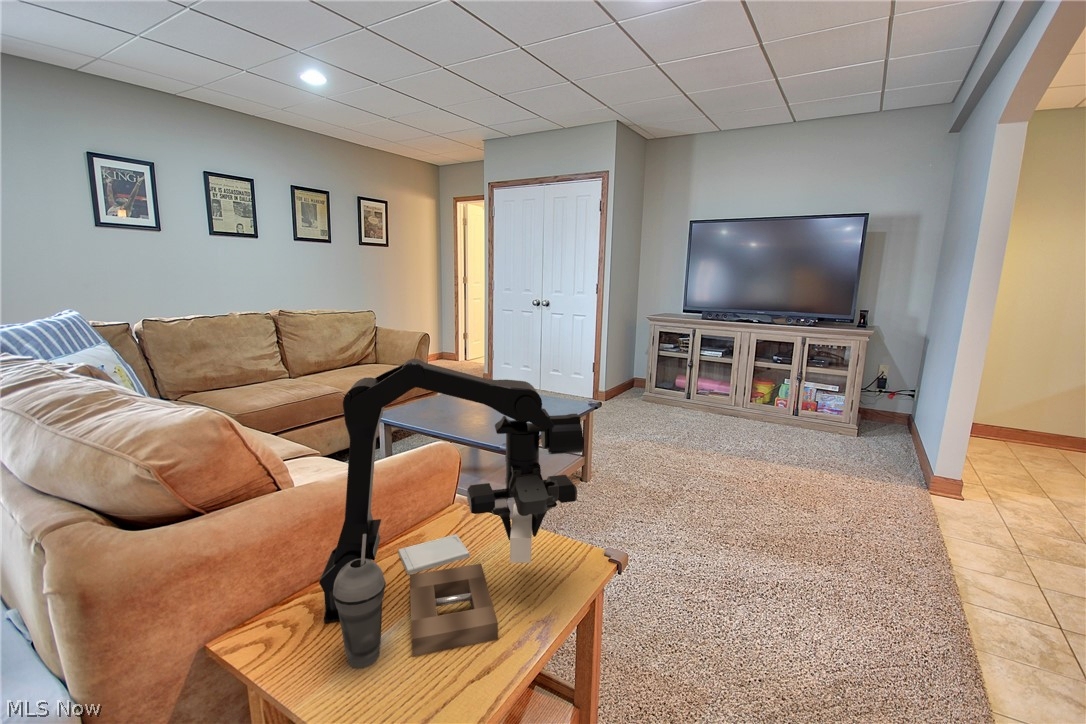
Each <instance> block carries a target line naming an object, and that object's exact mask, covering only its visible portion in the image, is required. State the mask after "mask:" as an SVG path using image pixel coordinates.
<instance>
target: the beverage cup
mask: <svg viewBox="0 0 1086 724" xmlns="http://www.w3.org/2000/svg"><path fill="white" fill-rule="evenodd" d="M365 548H366V534H363V540H362V553H361V558H360V559H355V560H353V561H350V562H349V563H347V564H346V565H345V566H344V567H343V568H342V569H341V570H340V571H339V573H338V575H337V577H336V579H335V582H334V589H333V598H334V600H335V605H336V608H337V609H338V613H339V619H340V620H339V625H340V630H341V635H342V641H343V647H344V652H345V656H346V658H347V659H346V660H347V664H348V666H349V667H351V668H352V669H357V670H358V669H359V670H361V669H365V668H368V667H370V666H372V665H373V664H374V663H375V662H377V660H378V659H379V657H380V649H381V643H382V641H381V640H382V622H383V621H382V619H383V601H384V600H383V599H384V596H385V588H386V585H387V583H386V578H385V576H384V572H383V570H382V568H381V567H380V566H379V565H378V563H377V562H375V560H369V559H365Z"/></svg>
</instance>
